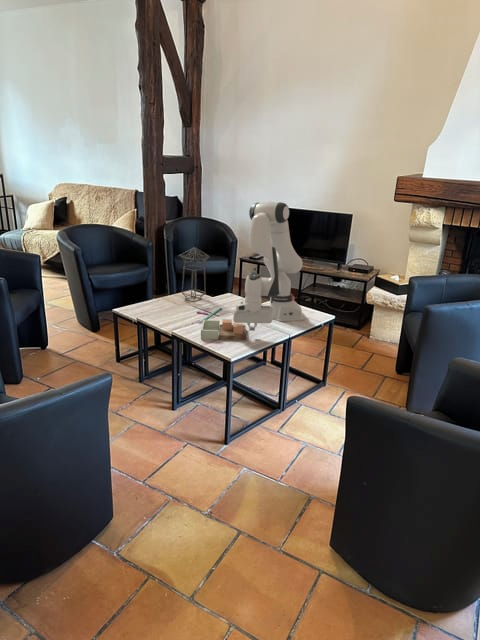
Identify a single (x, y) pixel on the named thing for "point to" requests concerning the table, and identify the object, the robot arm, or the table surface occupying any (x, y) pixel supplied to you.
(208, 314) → the squeegee
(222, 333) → the brown wooden board
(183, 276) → the geometric lantern
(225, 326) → the light brown wooden block
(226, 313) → the table surface
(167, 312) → the table surface
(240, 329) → the tile
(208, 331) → the tray
